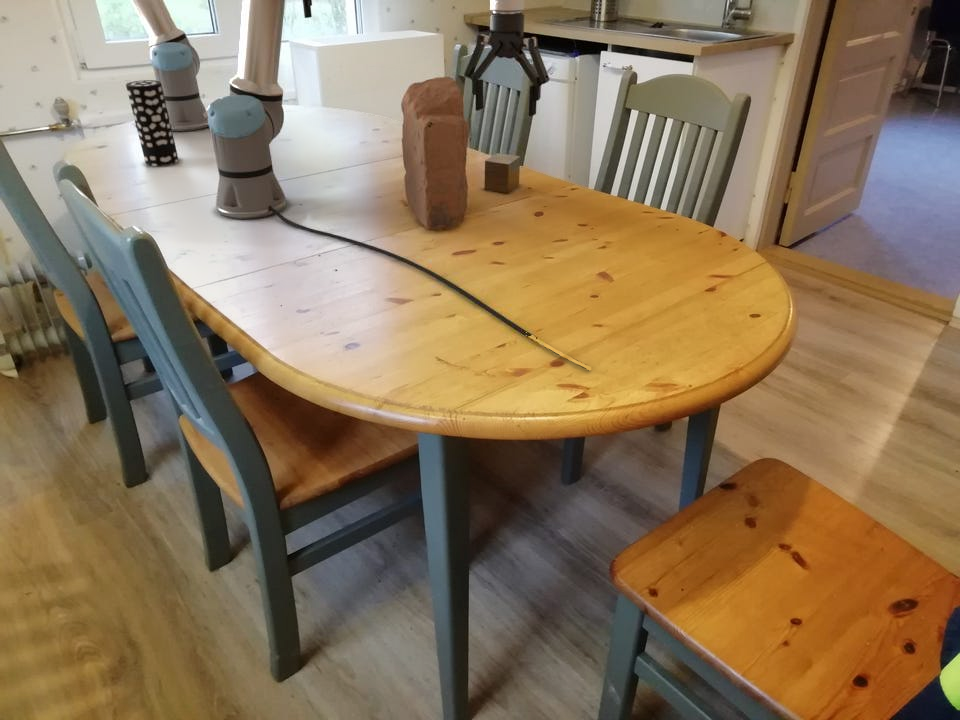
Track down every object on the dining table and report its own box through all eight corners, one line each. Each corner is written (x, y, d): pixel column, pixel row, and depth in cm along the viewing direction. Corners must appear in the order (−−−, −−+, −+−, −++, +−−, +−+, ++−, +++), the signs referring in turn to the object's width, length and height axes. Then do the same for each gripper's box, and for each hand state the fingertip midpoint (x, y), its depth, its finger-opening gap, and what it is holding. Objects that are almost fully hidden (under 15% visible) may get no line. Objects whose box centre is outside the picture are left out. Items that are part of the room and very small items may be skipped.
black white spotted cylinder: (184, 157, 190) (167, 80, 179) (169, 166, 183) (151, 87, 172) (155, 156, 190) (136, 79, 179) (139, 165, 183) (119, 86, 172)
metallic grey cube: (519, 185, 174) (520, 156, 170) (507, 193, 168) (508, 164, 164) (496, 181, 176) (496, 152, 172) (484, 189, 170) (484, 160, 166)
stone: (478, 228, 148) (477, 89, 134) (427, 234, 145) (421, 93, 131) (450, 199, 166) (446, 74, 151) (404, 203, 163) (396, 76, 148)
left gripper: (322, -61, 209) (329, 17, 221) (257, -62, 218) (267, 12, 229) (307, -60, 203) (315, 19, 215) (241, -62, 212) (252, 15, 224)
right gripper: (566, 12, 149) (560, 113, 161) (463, 7, 158) (465, 103, 170) (555, 16, 144) (549, 121, 155) (448, 11, 152) (451, 110, 164)
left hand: (291, 16), depth 222 cm, fingers open, 13 cm apart
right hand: (505, 112), depth 162 cm, fingers open, 13 cm apart
